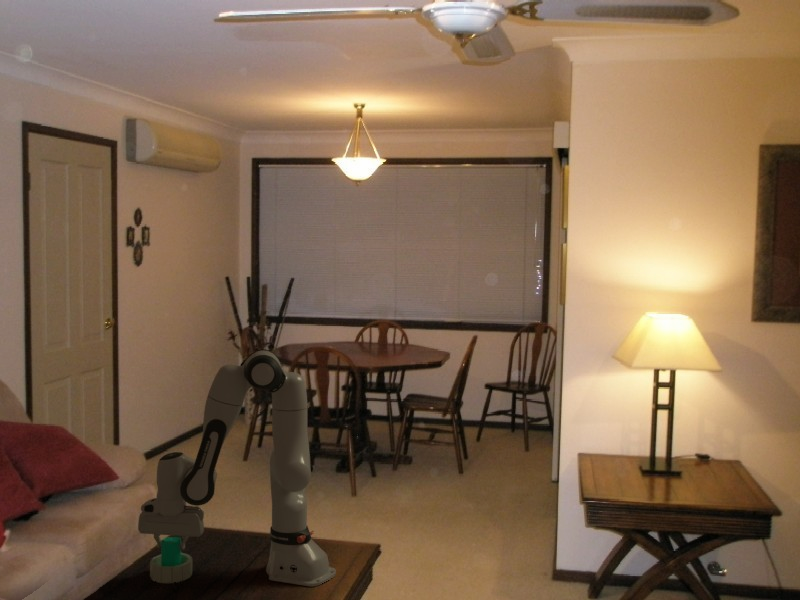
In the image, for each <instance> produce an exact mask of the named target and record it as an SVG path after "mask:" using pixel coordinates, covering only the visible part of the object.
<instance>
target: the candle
mask: <svg viewBox="0 0 800 600" xmlns="http://www.w3.org/2000/svg"><path fill="white" fill-rule="evenodd" d="M181 542H182V537H181V536H173V537H172V536H170V537H169V536H167V537H164V538H163V539H161V548H160V550H161V551H160V555H161V566H177V565H181V553H182V549H179V544H180V543H181Z"/></svg>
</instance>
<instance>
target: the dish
mask: <svg viewBox="0 0 800 600" xmlns="http://www.w3.org/2000/svg"><path fill="white" fill-rule="evenodd" d="M192 574H193V557H192V556H191V555H190V554H188V553H184V552H181V565H177V566H161V554H158V555H156V556H154V557H152V558H151V559H150V561H149V578H150V577H151V578H150V579H151V580H152V581H153V582H155V581H156V583H158V584H175V583H174V582H176V583H180V581H181V582H183V581H185V580H188V579H190V578H191V577H192Z"/></svg>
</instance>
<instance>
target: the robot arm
mask: <svg viewBox="0 0 800 600" xmlns="http://www.w3.org/2000/svg"><path fill="white" fill-rule="evenodd" d="M251 388H255V389H257V390H260V391H265V392H267V393H268V392H269V393H271V401H272V402H271V418H272V419H271V422H272V423H271V424H272V425H271V434H272V441H273V451H272V452H271V455H270V457H269V459H270V460H269V476H270V478H269V479H270V481H269V482H270V493H271V494H270V496H271V526H270V528H269V530H270V531H269V539H270V550H269V558H268V562H267V565H266V568H265V572H266V574H267V575H268V580H270V581H274V582H281V583H286V584H293V585H299V586H306V587H310V588H311V587H317V586H320V585H322V583H323V584H325V583H326V581H327V582H328V580H329V581H330V580H331V578H332V579H333V578H334V577H335V576H336V573H337V569H336V568H334V567H331V566H330V563H329V558H328V557H329V556H328V554H327V553H326V552H325V551H324V550H323V548H321V547H320V546H319V545H318V544H317V543H316V542H315V541H314V540H313V539H312V535H314V534H315V533H314V530H311V531H310V529H309V526H308V525H307V524H308V523H307V521H308V517H307V515H308V513H307V512H308V499H307V493H306V492H307V491H306V488H307V487H308V485H309V483H310V482H311V478H312V472H311V456H310V455H311V453H310V443H309V434H308V433H309V432H308V431H309V430H308V395H307V394H308V393H307V387H306V382H305V378H304V377H303V376H302V375H301V374H300V373H298V372H294V371H286V370H284V368H283V367H282V365H281V362H280V360H279V357H278V355H276V353H275V352H273V351H272V350H269V349H265V348H262V349H257V350H255V351H253V352H252V353H250V354H249V355H248V356H247V357H246V358H245V359H244V360H243V361H242V362H241V363H240V365H237V364H225V365H223V366H220V368H219V369H218V371H217V373H216V375H215V377H214V378H213V381H212V383H211V385H210V388H209V391H208V392H207V393H208V394H207V396H206V401H205V404H204V411H203V421H202V424H203V425H202V437H201V441H200V445H199V447H198V451H197V455H196V458H195V459H193V458H191V457H189V456H188V455H186V454H185V453H183V452H179V451H178V452H177V451H175V452H170V453H167V454H164V455H163V456H162V457H160V459H159V460H158V462H157V468H156V486H157V493H156V497H154V498H151V499H148V500H147V501H145V502H144V503H142V505H141V507H140V510H141V512H140V514H139V516H138V522H137V525H138V527H137V530H138V532H139V533H140V534H146V535H153V539H154V540H155V543H156V544H157V545H156V547H157V549H161V540H162V539H161V537H160V536H161V535H163V536H173V537H181V540H182V541H181V543H180V544H179V549H181V551H182V550H185V549H186V542H188V539H189V537H190V538H191V537H192V538H199V537H200V536H202V534H203V533H205V532H204V531H205V525H204V517H205V516H204V515H205V511H204V510H203V509H202V508H201V507H200V506H202V505H206V504H208V503H209V502H210V501H211V500H212V498H213V497H214V495H215V488H216V482H217V476H218V474H217V470H216V467H217V462H218V461H219V456H220V455H221V454H220V453H221V450H222V448H223V445H224V442H225V441H226V439H227V437H228V435H229V434H230V432H231V430H232V429H233V428H234V425H235V423H236V421H237V420H238V417H239V416H240V413H241V410H242V408H243V404H244V401H245V398H246V395H247V393H248V391H249V390H250V389H251ZM187 504H189V505H187ZM324 582H325V583H324Z"/></svg>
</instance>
